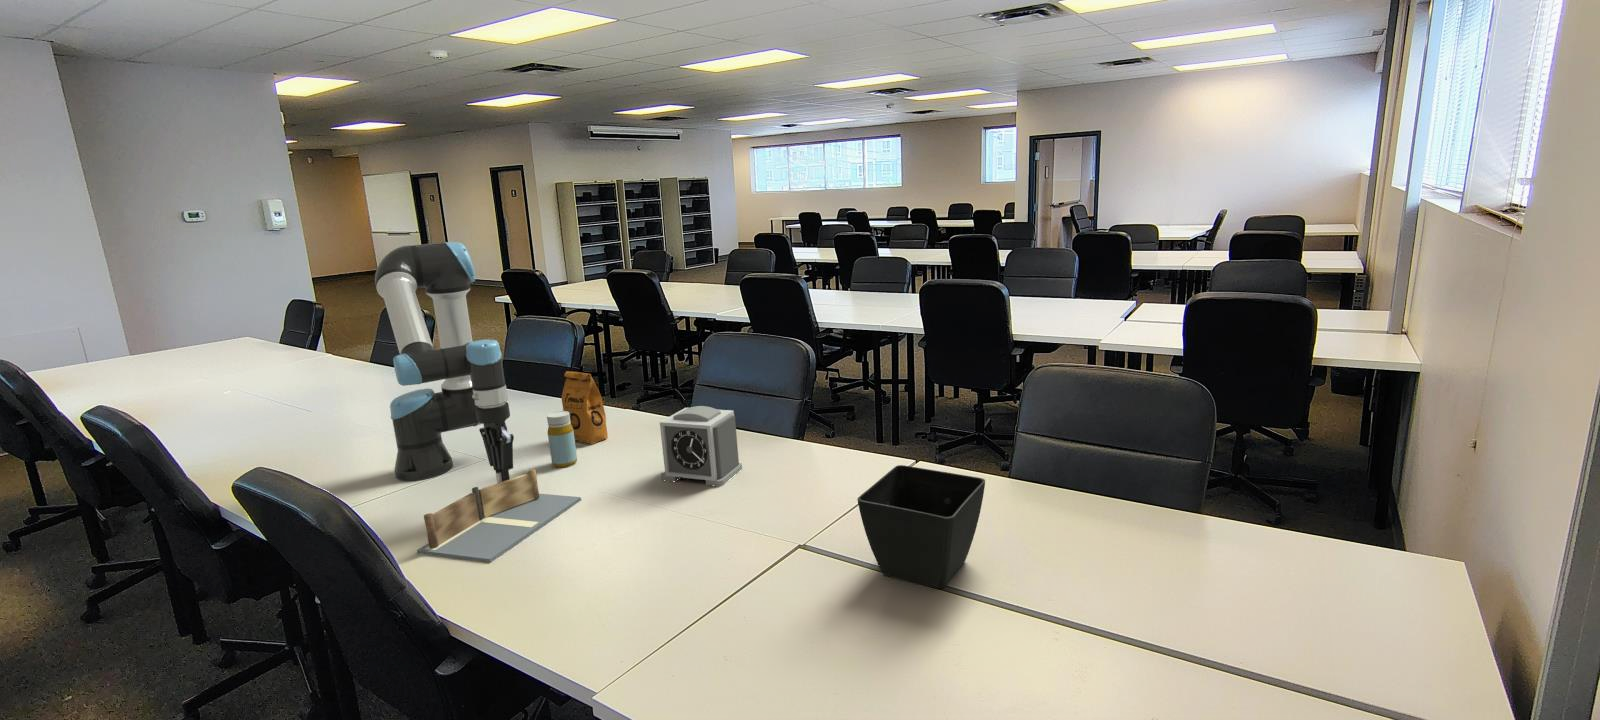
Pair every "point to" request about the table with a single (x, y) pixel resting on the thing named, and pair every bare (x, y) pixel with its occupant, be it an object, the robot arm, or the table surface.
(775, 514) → the table surface
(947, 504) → the flower pot
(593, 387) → the coffee package
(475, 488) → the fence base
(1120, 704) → the table surface
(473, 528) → the board
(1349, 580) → the table surface
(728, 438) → the alarm clock
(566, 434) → the bottle
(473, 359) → the robot arm
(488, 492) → the panel
